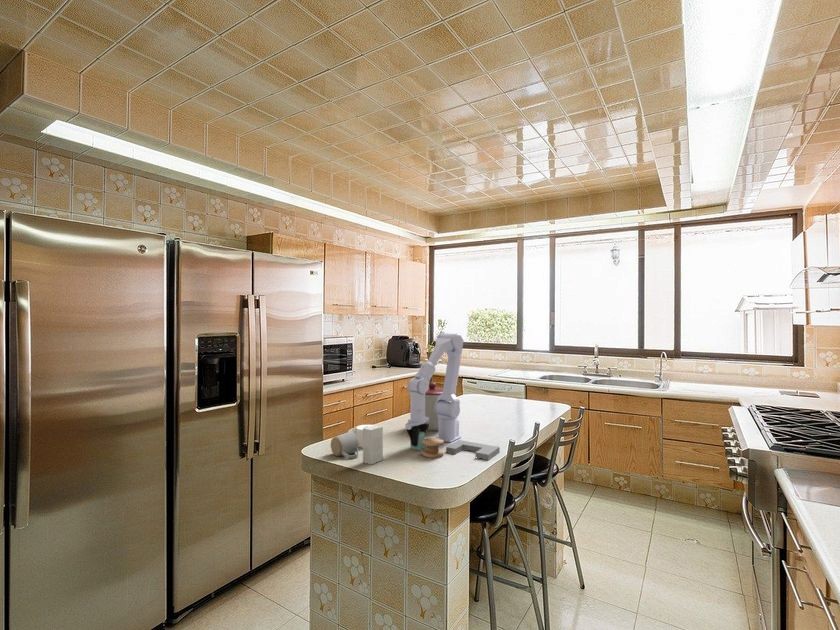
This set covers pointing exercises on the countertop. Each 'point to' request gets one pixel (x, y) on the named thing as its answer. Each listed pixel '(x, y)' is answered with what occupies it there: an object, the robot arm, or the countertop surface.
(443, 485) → the countertop surface
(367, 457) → the skincare box
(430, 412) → the canister
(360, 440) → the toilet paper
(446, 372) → the robot arm
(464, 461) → the countertop surface
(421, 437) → the tab block
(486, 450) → the gray u-shaped block
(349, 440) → the ceramic mug
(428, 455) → the bobbin
